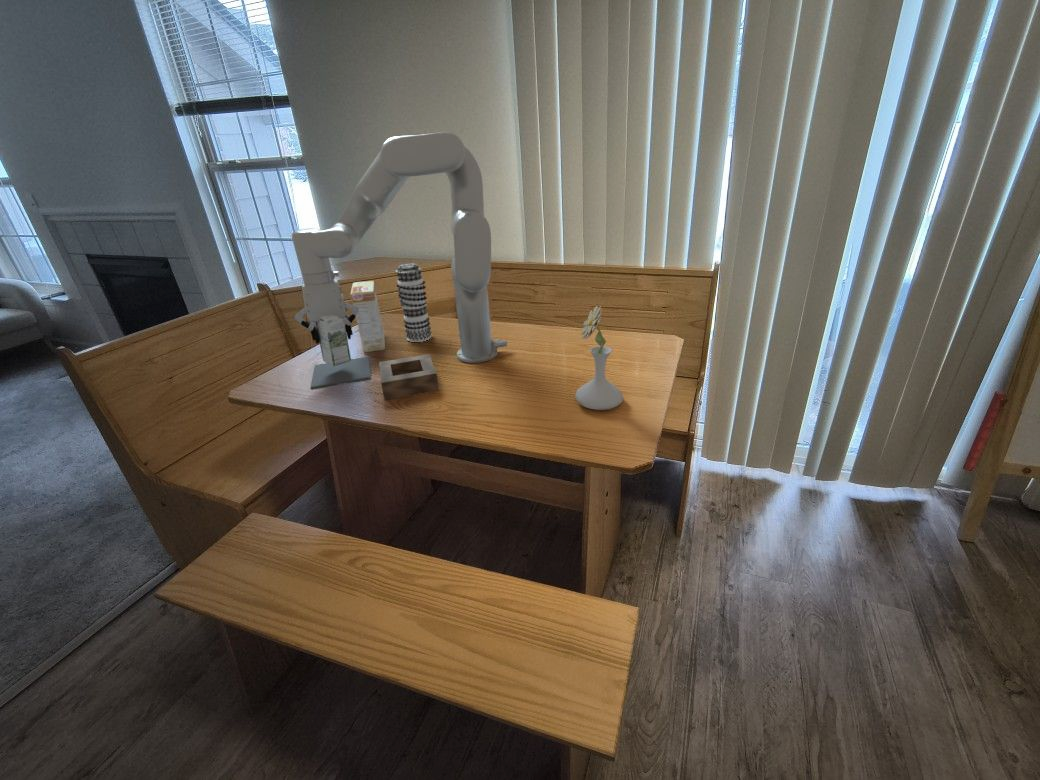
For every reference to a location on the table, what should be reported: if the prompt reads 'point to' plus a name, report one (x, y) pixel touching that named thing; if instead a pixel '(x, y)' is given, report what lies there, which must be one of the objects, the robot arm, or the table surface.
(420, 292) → the black and white tower
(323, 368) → the charcoal mat
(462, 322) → the robot arm
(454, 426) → the table surface
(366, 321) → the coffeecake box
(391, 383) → the walnut pocket holder
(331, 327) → the syrup box
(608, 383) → the flower in vase
